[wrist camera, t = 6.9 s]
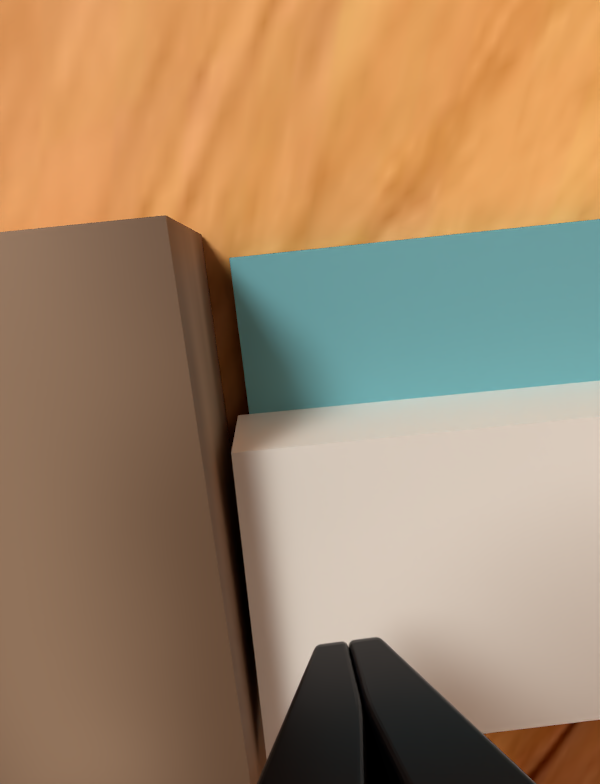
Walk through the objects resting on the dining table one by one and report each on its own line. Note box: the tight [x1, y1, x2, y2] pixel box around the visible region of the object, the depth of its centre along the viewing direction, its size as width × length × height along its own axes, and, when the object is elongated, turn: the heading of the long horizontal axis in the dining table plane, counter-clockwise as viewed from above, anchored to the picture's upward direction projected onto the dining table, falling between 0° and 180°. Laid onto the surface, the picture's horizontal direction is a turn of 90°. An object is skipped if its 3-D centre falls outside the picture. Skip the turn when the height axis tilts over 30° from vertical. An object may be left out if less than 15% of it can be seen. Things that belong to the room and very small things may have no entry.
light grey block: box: [231, 381, 600, 758], centre depth 11 cm, size 9×6×2 cm, turn 95°
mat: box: [229, 219, 600, 414], centre depth 12 cm, size 10×11×1 cm
